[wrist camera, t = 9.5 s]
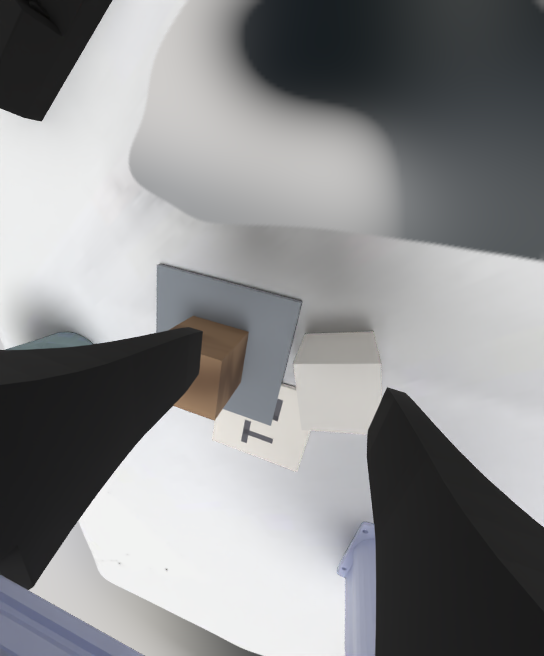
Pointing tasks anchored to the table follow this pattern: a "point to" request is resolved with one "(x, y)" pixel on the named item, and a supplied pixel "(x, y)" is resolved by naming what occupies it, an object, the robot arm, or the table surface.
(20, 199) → the table surface
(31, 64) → the battery charger
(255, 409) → the slate pad
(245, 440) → the tile
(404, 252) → the table surface
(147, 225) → the table surface
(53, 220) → the table surface
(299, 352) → the off-white block
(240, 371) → the walnut block
